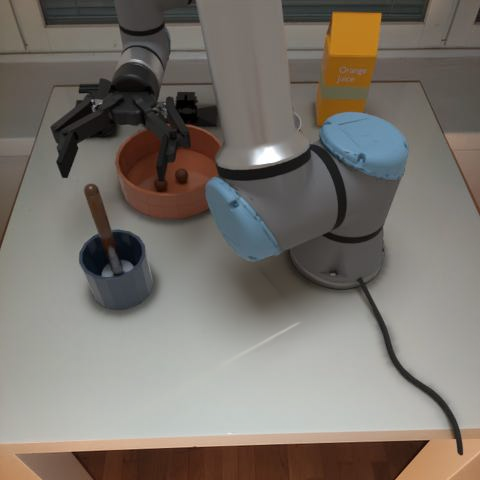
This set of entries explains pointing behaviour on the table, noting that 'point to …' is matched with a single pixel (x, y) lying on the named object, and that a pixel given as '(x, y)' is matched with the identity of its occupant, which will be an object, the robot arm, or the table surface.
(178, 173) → the meatball
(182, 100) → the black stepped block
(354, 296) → the table surface
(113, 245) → the ladle
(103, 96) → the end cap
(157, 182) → the meatball
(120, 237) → the crock
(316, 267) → the robot arm
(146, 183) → the bowl
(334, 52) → the orange juice
